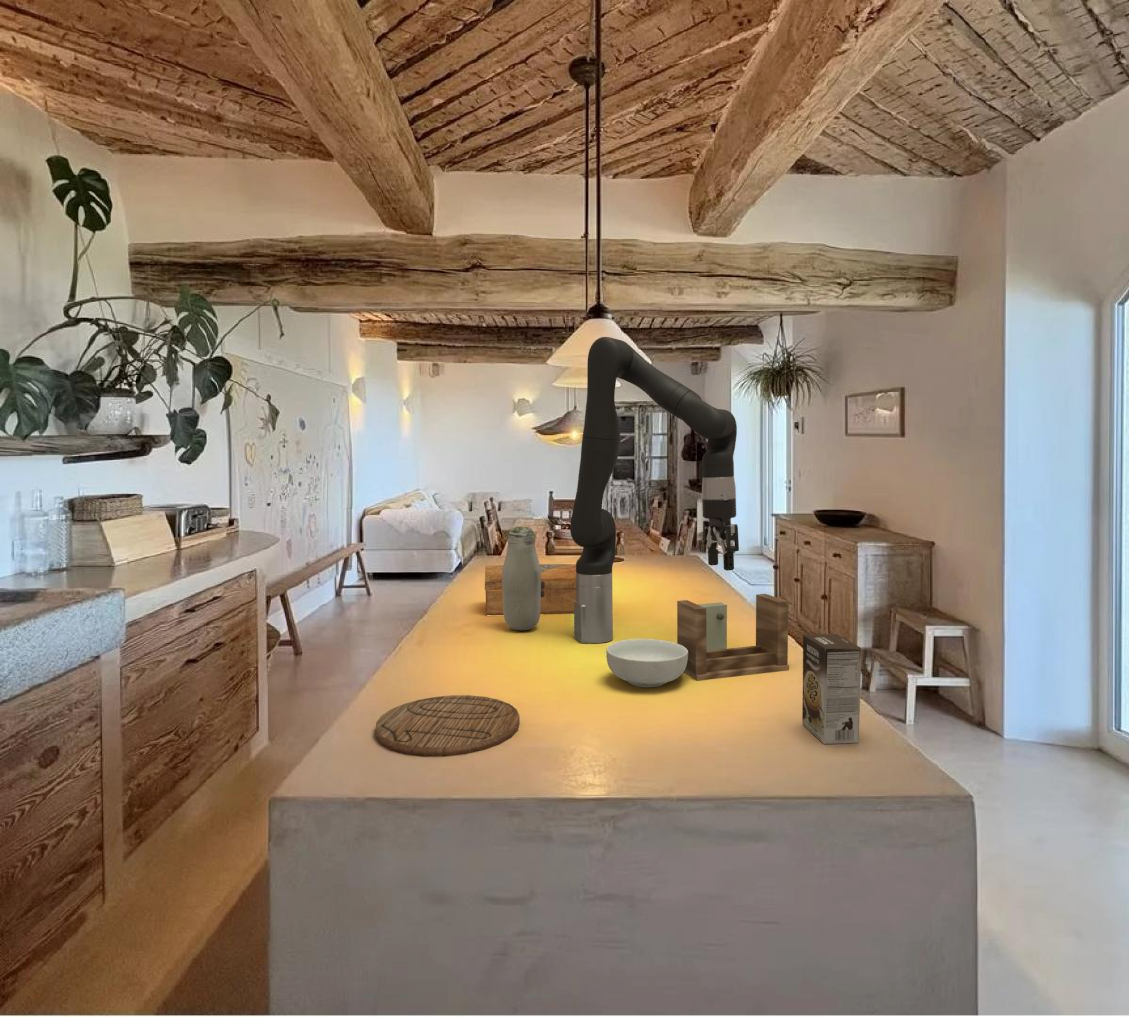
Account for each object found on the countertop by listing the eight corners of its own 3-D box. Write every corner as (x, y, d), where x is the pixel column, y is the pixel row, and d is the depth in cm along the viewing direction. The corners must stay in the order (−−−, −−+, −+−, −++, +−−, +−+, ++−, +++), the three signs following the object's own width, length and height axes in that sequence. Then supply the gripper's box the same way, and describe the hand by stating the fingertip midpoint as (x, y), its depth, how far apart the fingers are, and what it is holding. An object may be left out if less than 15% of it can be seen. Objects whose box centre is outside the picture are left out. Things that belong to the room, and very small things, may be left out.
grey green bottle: (497, 632, 198) (495, 528, 196) (514, 623, 207) (512, 524, 205) (531, 635, 194) (529, 529, 192) (547, 626, 204) (545, 525, 201)
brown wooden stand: (697, 680, 155) (697, 609, 154) (676, 667, 165) (676, 600, 163) (788, 670, 161) (789, 601, 160) (763, 657, 171) (764, 593, 170)
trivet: (500, 762, 117) (499, 751, 117) (350, 754, 121) (350, 743, 121) (532, 707, 142) (532, 697, 141) (407, 702, 146) (407, 692, 146)
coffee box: (800, 724, 130) (801, 633, 129) (835, 722, 131) (837, 632, 129) (822, 745, 121) (824, 647, 120) (860, 743, 122) (862, 646, 120)
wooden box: (484, 617, 217) (483, 570, 215) (488, 605, 233) (487, 561, 232) (587, 615, 218) (586, 568, 216) (583, 603, 234) (583, 559, 233)
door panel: (689, 661, 169) (689, 609, 168) (681, 656, 173) (681, 605, 172) (728, 656, 172) (729, 605, 171) (720, 652, 176) (720, 602, 175)
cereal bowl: (634, 700, 144) (634, 664, 143) (591, 677, 159) (591, 644, 158) (704, 686, 152) (704, 652, 151) (657, 665, 166) (657, 634, 166)
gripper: (691, 496, 176) (693, 564, 177) (716, 499, 162) (718, 573, 163) (721, 495, 177) (723, 562, 178) (748, 497, 163) (750, 570, 164)
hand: (720, 567), depth 170 cm, fingers open, 8 cm apart
